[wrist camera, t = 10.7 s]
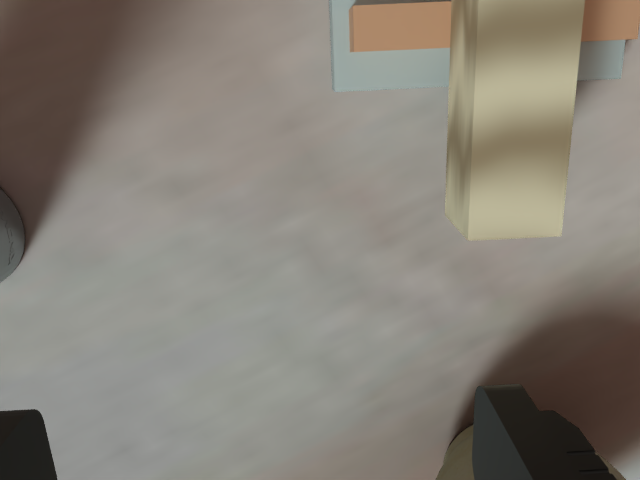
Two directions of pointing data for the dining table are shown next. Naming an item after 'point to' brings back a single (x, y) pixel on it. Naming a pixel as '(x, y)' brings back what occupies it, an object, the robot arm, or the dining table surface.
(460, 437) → the planter bowl
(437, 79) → the fulcrum
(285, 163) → the dining table surface
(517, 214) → the batten
